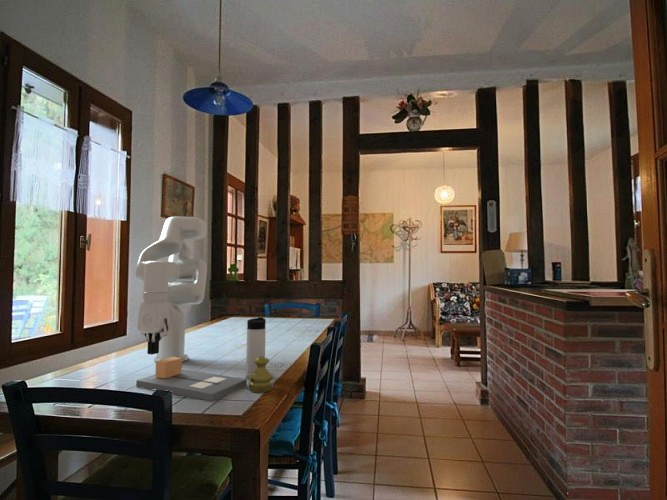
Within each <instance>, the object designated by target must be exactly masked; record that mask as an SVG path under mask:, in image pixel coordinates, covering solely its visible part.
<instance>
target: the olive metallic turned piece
mask: <svg viewBox="0 0 667 500" xmlns="http://www.w3.org/2000/svg"><path fill="white" fill-rule="evenodd" d="M253 362H254V363H255V364H256V365H257V368H256V369H255V370H254V371H253V372H252V373H251V374H250V375H249V379H248V380H249V381H248V390H249V391H250V392H251V393H256V394H259V393H262V394H263V393H267V392H270V391H271V390H272V391H273V388H274V382H273V379H274V375H273V373H272V372H271V371H269V369H268V368H267V367H266V366H267V365H268V364H269V363H270V359H269V358H267V357H266V356H265V357H264V356H259V357H258V358H256V359H254V360H253Z"/></svg>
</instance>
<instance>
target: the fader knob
mask: <svg viewBox="0 0 667 500" xmlns="http://www.w3.org/2000/svg"><path fill="white" fill-rule="evenodd" d="M182 369H183V361H182V358H178V357H170V358H166V359H163V360H159V361H156V362H155V374H156V375H155V374H154V375H155V377H158V378H163V379H165V378H168V377H172V376H175V375H178V374H181V373H182Z"/></svg>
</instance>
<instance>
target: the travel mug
mask: <svg viewBox="0 0 667 500" xmlns="http://www.w3.org/2000/svg"><path fill="white" fill-rule="evenodd" d="M246 323H247V325H246V326H247V327H246V359H245V362H246V363H245V364H246V365H245V366H246V367H245V368H246V369H245V372H246V373H245V379H247V380H249V375H250V374H251V373H252V372H253V371H254V370H255V369H256V368H257V365H256V364H255V363H254V362H253V360H254V359H256V358H258V357H259V356H264V357H265V358H266V324H267V323H266V318H265V317H257V318H250V319H248V320H247V321H246Z"/></svg>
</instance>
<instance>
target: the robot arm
mask: <svg viewBox="0 0 667 500" xmlns="http://www.w3.org/2000/svg"><path fill="white" fill-rule="evenodd" d="M207 233H208V225H207V223H206V221H205V220H204V219H202V218H200V217H195V216H181V215H178V216H170V217H168V218H166V220H165V221H164V224H163V227H162V230H161V233H160V237H159V239H158V241H155V242H153V243H152V244H151V245H149V246H147V247H146V248H145V249H144V250H142V252H141V253H140V254H139V258H138V260H137V263H136V266H135V272H134V273H135V274H134V275H135V277H136V279H137V281H139V282H141V283H143V287H142V288H143V290H142V292H143V293H142V302H141V303H140V306H139V311H138V317H137V331H138V332H139V333H140V334H141V335H142V336H144V337H145V339H146V342H147V353H146V354H148V355H156V356H155V357H154V359H153V361H154V362H155V363H156V361H159V360H163V359H166V358H170V357H178V358H182V362H186V361H187V360H188V359H189V355H188V354H185V345H186V344H185V342H186V341H185V340H186V337H185V336H186V314H185V311H184V310H183V309H182V308H181V306H180V305H182V306H183V305H199V304H201V303H203V301H204V297H205V294H206V293H205V291H206V284H207V283H206V281H207V273H208V268H207V264H206V261H204V260H203V259H202V258H201V259H200V258H191V254H192V251H191V249H190V247H189V246H188V245H187V244H186V242H184V239H185V240H203V239H205V237H206V236H207ZM167 257H168V259H167V261H164V260H163V261H162V259H164V258H167ZM160 259H161V260H160ZM158 260H160V261H158Z"/></svg>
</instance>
